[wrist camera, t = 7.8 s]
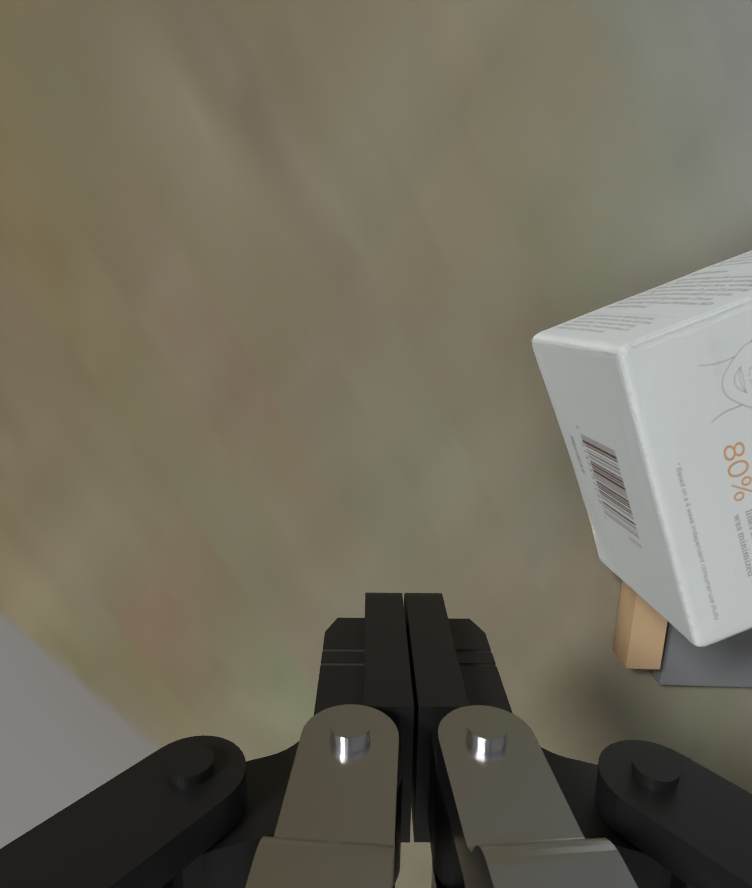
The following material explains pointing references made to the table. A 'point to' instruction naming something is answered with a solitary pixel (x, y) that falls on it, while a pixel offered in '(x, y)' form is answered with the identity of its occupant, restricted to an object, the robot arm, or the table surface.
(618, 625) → the oak ledge
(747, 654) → the rubber mat
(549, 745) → the table surface
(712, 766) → the table surface
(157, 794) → the robot arm
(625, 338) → the small box
